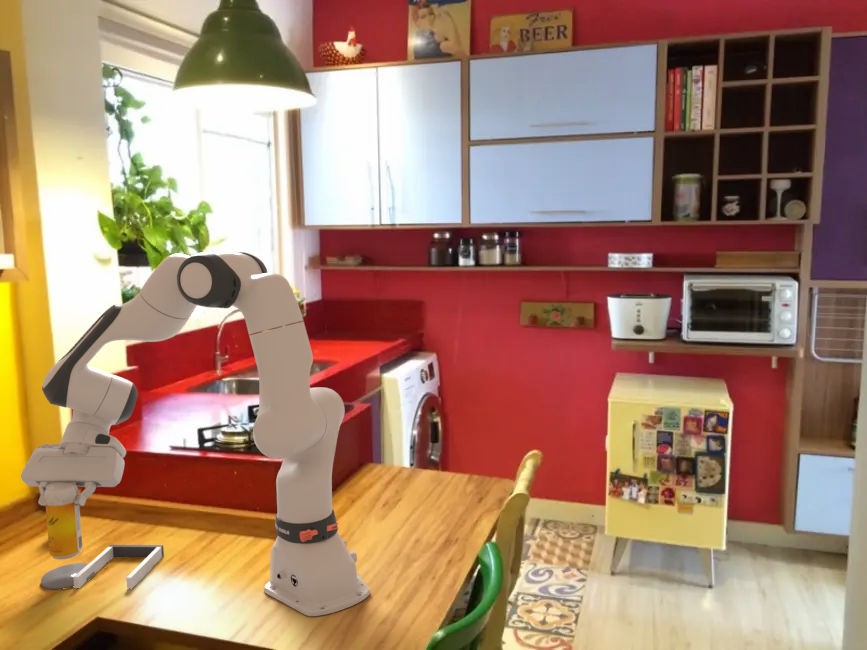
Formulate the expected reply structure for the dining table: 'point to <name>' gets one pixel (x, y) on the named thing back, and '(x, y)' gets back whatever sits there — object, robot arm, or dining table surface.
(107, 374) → the robot arm
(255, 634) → the dining table surface
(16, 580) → the dining table surface
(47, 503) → the beer can
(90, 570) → the channel
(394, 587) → the dining table surface
